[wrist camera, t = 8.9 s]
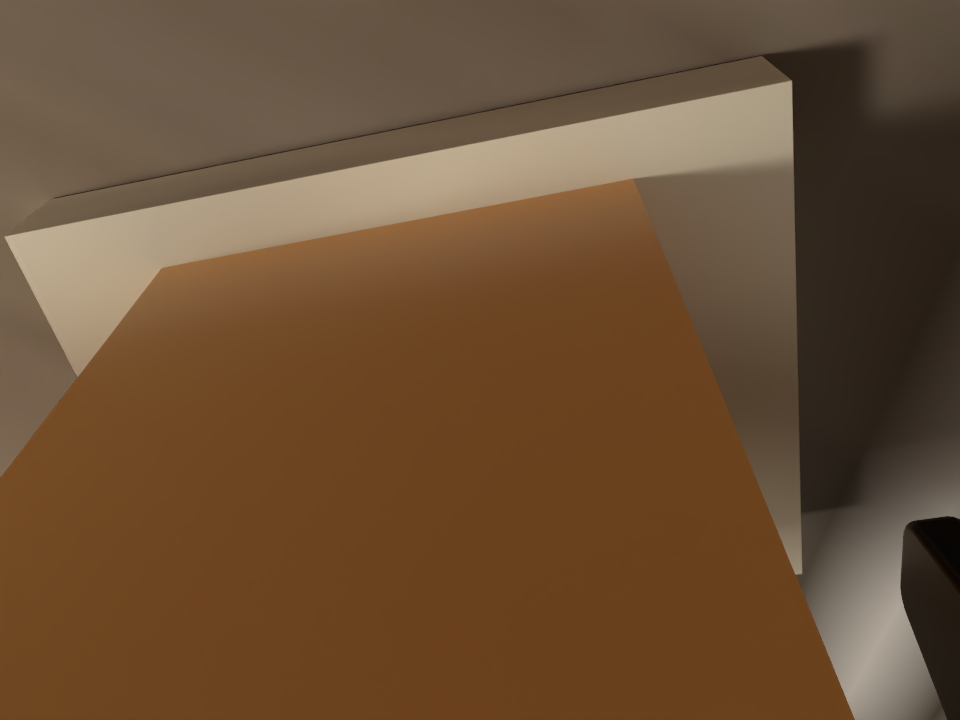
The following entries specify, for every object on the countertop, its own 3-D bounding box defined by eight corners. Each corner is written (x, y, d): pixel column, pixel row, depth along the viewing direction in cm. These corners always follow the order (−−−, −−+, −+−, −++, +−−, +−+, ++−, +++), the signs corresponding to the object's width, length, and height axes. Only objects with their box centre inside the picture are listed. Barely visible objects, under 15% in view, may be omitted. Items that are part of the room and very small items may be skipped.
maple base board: (779, 518, 14) (802, 573, 13) (239, 594, 15) (220, 652, 14) (762, 56, 10) (791, 80, 9) (49, 200, 11) (4, 236, 10)
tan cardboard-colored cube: (677, 547, 13) (876, 1317, 6) (304, 598, 13) (119, 1347, 7) (633, 178, 10) (918, 877, 3) (162, 268, 10) (-404, 1001, 4)
